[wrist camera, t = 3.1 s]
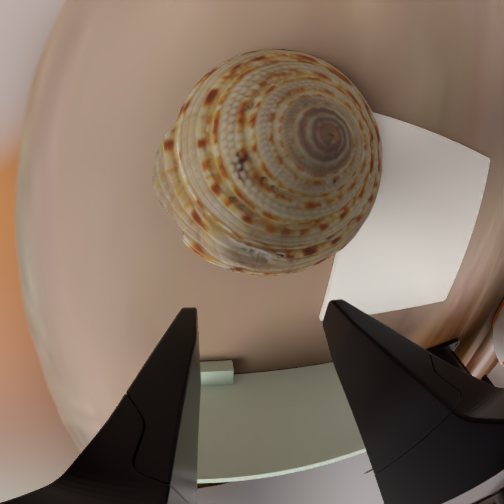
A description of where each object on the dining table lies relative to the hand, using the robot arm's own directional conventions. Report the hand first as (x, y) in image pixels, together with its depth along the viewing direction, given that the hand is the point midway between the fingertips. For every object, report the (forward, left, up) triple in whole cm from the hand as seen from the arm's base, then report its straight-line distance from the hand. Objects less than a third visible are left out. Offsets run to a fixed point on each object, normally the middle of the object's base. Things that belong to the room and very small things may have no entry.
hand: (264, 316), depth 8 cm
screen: (-4, +10, -5) cm, 11 cm away
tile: (-10, -1, -5) cm, 11 cm away
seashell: (+1, 0, -5) cm, 5 cm away
